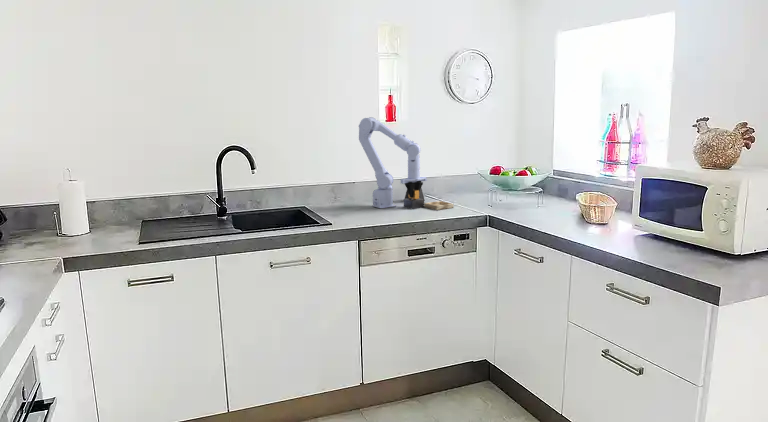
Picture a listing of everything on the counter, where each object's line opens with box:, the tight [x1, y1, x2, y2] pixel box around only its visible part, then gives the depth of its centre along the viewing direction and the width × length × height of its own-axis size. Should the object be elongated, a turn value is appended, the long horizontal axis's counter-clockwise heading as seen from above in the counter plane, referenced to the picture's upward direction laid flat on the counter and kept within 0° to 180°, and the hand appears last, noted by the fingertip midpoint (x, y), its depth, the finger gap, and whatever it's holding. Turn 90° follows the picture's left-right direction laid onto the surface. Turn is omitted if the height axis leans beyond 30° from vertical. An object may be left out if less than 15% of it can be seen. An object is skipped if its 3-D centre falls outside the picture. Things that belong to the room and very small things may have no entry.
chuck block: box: [403, 198, 425, 210], centre depth 278 cm, size 7×7×4 cm
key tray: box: [424, 200, 455, 211], centre depth 277 cm, size 10×10×2 cm
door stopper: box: [403, 182, 426, 202], centre depth 294 cm, size 9×6×12 cm, turn 44°
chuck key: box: [409, 189, 419, 200], centre depth 278 cm, size 5×2×8 cm, turn 35°
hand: (413, 197), depth 277 cm, fingers closed on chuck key, 2 cm apart
